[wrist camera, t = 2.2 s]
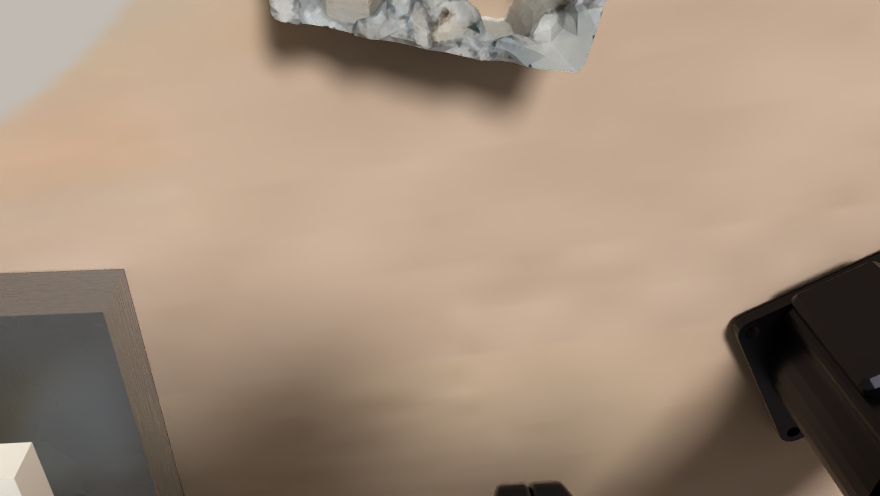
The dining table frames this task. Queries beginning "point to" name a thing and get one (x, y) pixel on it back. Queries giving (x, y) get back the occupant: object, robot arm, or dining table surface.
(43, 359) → the grey flat block
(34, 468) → the cover
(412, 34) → the egg carton
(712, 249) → the dining table surface
